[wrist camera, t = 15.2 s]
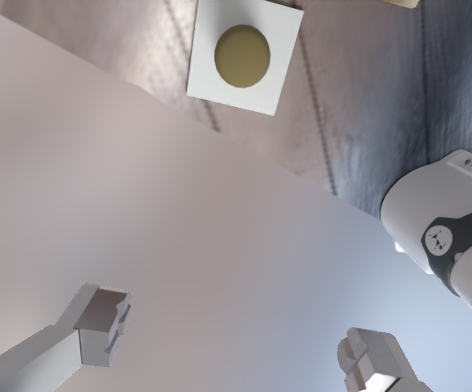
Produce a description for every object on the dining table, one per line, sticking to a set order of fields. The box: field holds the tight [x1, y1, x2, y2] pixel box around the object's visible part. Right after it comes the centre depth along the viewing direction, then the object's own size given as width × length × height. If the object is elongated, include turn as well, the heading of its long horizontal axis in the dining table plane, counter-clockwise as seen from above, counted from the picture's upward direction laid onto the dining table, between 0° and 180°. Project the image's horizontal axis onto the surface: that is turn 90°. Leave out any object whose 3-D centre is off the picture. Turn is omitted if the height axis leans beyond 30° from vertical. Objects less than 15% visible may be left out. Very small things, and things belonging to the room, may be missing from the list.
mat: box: [187, 0, 304, 116], centre depth 33 cm, size 12×12×1 cm
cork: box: [214, 24, 271, 88], centre depth 28 cm, size 6×6×11 cm
